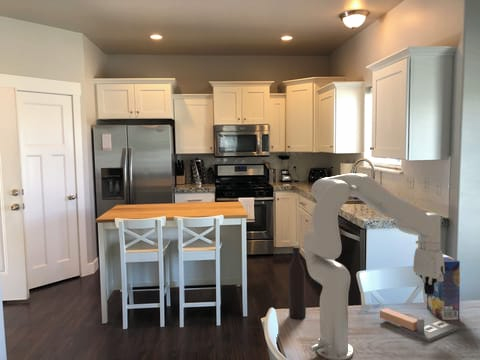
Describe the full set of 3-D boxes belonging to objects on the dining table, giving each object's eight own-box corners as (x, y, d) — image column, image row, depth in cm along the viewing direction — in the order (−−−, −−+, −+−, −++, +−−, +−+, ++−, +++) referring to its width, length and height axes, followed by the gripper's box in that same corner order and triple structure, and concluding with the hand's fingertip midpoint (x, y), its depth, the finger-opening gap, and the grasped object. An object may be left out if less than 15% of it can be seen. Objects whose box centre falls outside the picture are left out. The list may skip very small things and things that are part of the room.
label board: (428, 341, 135) (428, 324, 134) (400, 329, 145) (399, 313, 145) (458, 329, 143) (458, 313, 143) (429, 318, 154) (429, 303, 153)
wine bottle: (306, 313, 162) (305, 245, 161) (305, 320, 155) (303, 249, 154) (290, 312, 164) (288, 245, 162) (288, 319, 157) (286, 248, 155)
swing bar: (419, 327, 142) (419, 320, 142) (413, 330, 140) (413, 322, 140) (386, 315, 154) (385, 307, 154) (379, 317, 152) (379, 310, 152)
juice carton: (459, 319, 152) (459, 261, 151) (441, 319, 152) (441, 262, 151) (443, 307, 164) (443, 254, 163) (426, 308, 164) (426, 254, 163)
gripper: (405, 243, 145) (405, 289, 146) (442, 251, 132) (441, 302, 133) (417, 240, 148) (417, 286, 149) (454, 248, 135) (454, 297, 136)
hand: (429, 293), depth 141 cm, fingers closed
